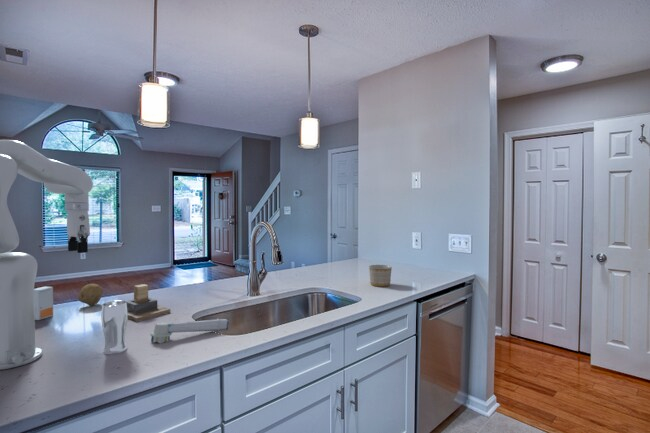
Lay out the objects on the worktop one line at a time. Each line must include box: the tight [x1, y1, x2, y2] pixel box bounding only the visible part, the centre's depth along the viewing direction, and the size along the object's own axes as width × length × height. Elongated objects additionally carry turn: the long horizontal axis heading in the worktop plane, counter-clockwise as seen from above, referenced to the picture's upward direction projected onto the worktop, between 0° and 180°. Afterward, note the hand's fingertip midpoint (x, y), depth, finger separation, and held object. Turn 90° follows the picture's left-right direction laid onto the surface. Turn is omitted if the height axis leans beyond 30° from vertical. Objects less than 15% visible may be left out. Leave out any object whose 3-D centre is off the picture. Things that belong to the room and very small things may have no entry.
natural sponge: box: [77, 283, 104, 307], centre depth 153 cm, size 9×9×10 cm
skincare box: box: [34, 285, 54, 321], centre depth 137 cm, size 6×4×12 cm
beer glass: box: [100, 299, 129, 356], centre depth 107 cm, size 7×7×15 cm
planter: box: [368, 264, 393, 288], centre depth 194 cm, size 13×13×10 cm
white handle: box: [150, 317, 230, 344], centre depth 119 cm, size 5×7×25 cm
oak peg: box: [133, 283, 149, 304], centre depth 144 cm, size 4×4×10 cm
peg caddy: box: [126, 296, 171, 323], centre depth 144 cm, size 20×14×5 cm
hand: (77, 251), depth 133 cm, fingers open, 9 cm apart
